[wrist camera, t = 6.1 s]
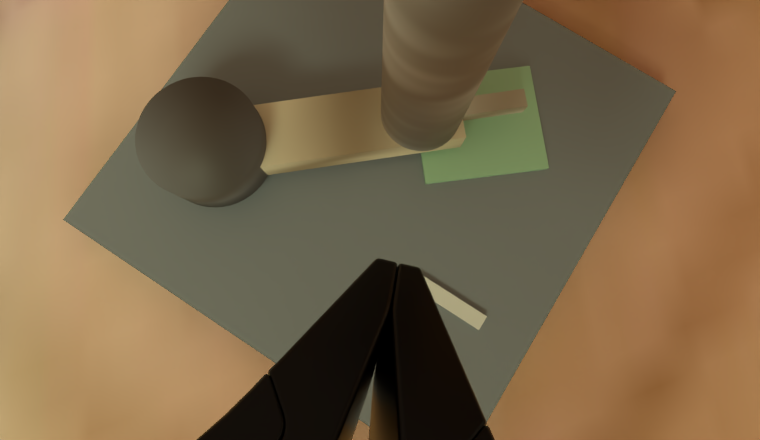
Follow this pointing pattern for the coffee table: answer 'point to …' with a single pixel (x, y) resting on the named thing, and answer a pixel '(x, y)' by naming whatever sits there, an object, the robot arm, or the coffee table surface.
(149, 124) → the lever
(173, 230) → the plate
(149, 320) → the coffee table surface
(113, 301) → the coffee table surface
